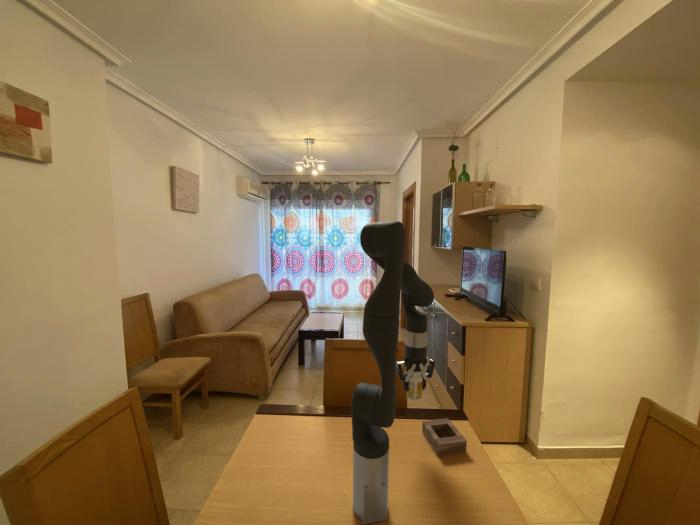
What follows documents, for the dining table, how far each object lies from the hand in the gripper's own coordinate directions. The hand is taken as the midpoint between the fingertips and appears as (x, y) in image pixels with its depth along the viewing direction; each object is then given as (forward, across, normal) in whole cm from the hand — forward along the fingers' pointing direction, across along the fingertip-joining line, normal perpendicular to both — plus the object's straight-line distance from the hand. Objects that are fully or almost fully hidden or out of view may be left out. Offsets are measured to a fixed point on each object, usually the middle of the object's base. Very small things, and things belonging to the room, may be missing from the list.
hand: (414, 389), depth 104 cm
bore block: (+17, +9, -5) cm, 20 cm away
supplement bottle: (+3, 0, 0) cm, 3 cm away
